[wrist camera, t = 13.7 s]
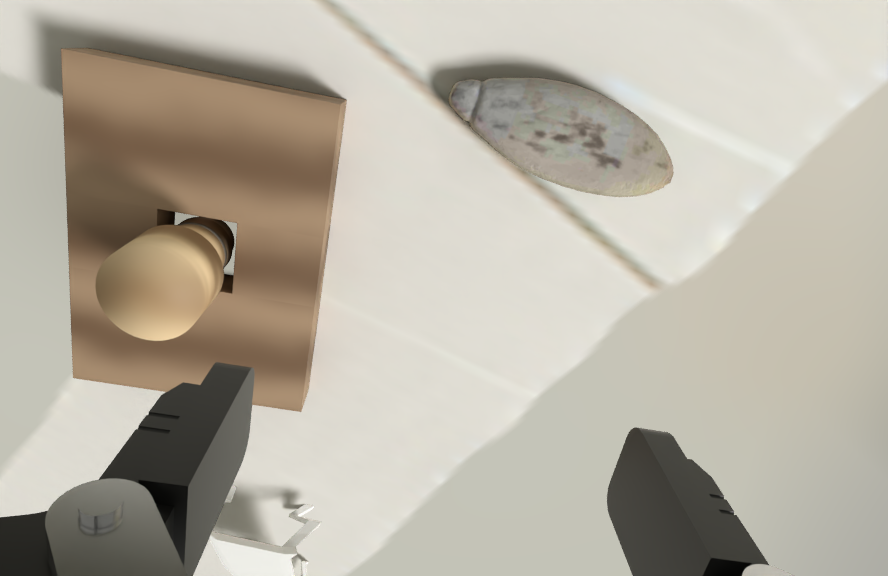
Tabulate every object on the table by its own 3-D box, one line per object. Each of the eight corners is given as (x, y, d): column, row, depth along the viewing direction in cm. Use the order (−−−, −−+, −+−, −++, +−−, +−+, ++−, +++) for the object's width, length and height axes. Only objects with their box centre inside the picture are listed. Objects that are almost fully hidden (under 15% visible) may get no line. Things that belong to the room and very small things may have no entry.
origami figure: (355, 515, 52) (349, 561, 47) (307, 576, 54) (296, 625, 50) (229, 452, 49) (209, 494, 45) (184, 519, 52) (160, 566, 47)
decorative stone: (463, 45, 38) (466, 45, 35) (682, 123, 40) (704, 130, 37) (433, 139, 40) (434, 147, 37) (643, 208, 42) (660, 222, 39)
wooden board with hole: (88, 47, 37) (60, 48, 34) (346, 99, 39) (340, 104, 36) (94, 357, 45) (73, 377, 43) (308, 389, 47) (301, 411, 44)
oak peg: (169, 192, 41) (94, 237, 32) (253, 207, 41) (203, 256, 32) (167, 269, 43) (96, 331, 34) (247, 282, 43) (199, 348, 34)
